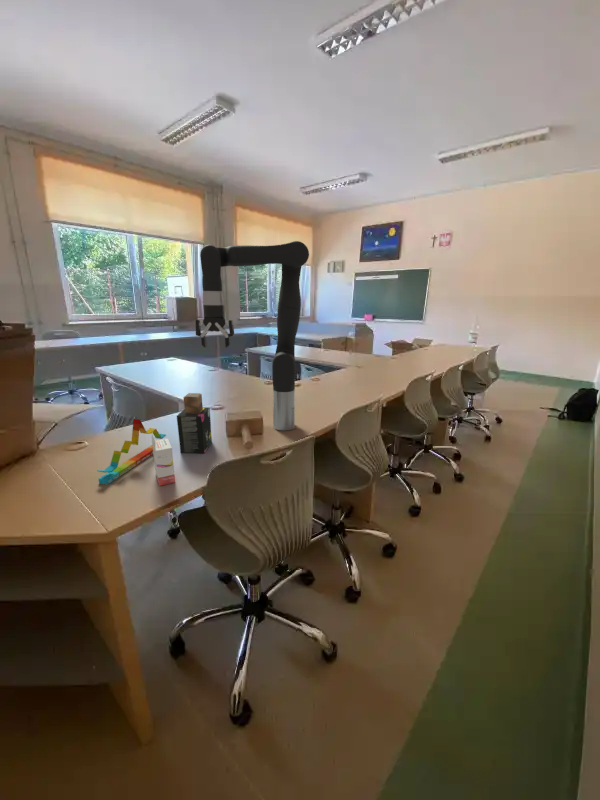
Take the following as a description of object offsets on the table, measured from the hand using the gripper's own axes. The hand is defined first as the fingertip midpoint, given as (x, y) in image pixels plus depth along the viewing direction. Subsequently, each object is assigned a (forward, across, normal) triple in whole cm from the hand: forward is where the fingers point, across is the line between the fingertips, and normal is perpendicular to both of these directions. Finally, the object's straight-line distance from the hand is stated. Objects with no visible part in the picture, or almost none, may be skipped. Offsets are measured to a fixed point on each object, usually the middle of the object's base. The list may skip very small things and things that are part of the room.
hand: (215, 347), depth 132 cm
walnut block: (+22, +6, +14) cm, 26 cm away
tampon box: (+36, +6, +14) cm, 39 cm away
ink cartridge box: (+36, +9, +37) cm, 53 cm away
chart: (+37, +23, +26) cm, 51 cm away
